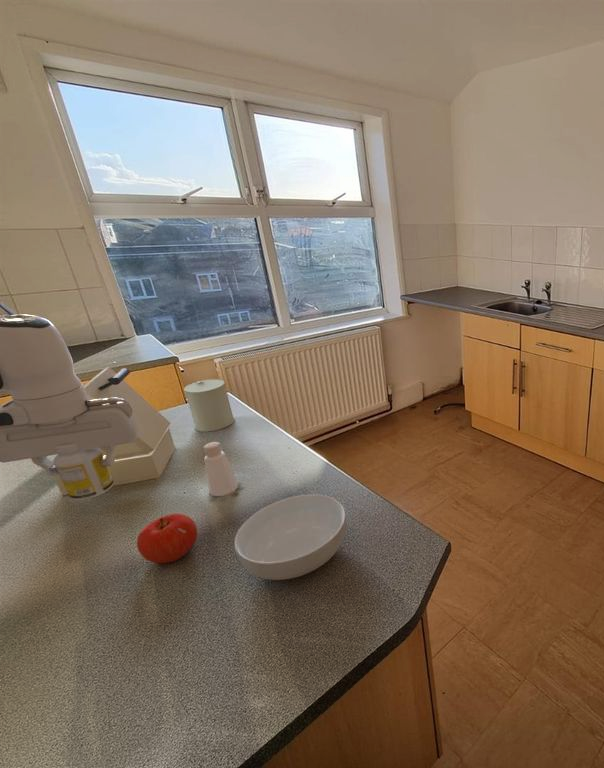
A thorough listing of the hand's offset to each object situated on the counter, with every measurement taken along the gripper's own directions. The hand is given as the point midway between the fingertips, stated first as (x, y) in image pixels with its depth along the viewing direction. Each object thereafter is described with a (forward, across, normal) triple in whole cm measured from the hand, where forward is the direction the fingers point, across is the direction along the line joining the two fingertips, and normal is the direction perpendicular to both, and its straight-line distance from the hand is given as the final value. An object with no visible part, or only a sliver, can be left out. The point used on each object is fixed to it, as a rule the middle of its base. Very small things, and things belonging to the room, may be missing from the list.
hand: (83, 469), depth 83 cm
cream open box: (+9, 0, -14) cm, 17 cm away
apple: (+9, -17, +21) cm, 28 cm away
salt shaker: (+9, -22, +3) cm, 24 cm away
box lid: (-5, -4, -14) cm, 15 cm away
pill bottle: (+5, 0, 0) cm, 5 cm away
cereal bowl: (+9, -37, +30) cm, 48 cm away
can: (+9, -15, -32) cm, 36 cm away
